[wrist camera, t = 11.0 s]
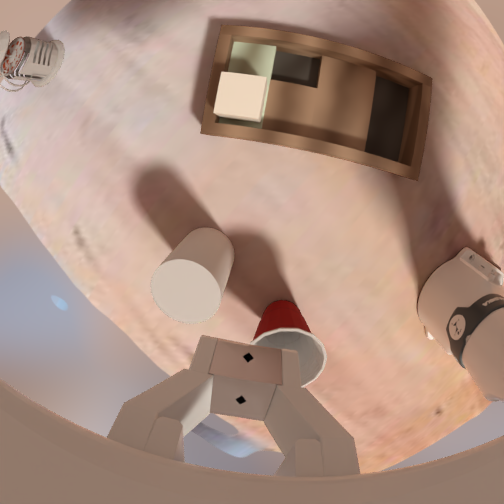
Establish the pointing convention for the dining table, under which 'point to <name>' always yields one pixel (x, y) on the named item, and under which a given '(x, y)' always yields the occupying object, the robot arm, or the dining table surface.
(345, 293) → the dining table surface
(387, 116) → the box
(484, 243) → the dining table surface
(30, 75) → the french press
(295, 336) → the plastic cup
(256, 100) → the block
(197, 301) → the beige cylinder
